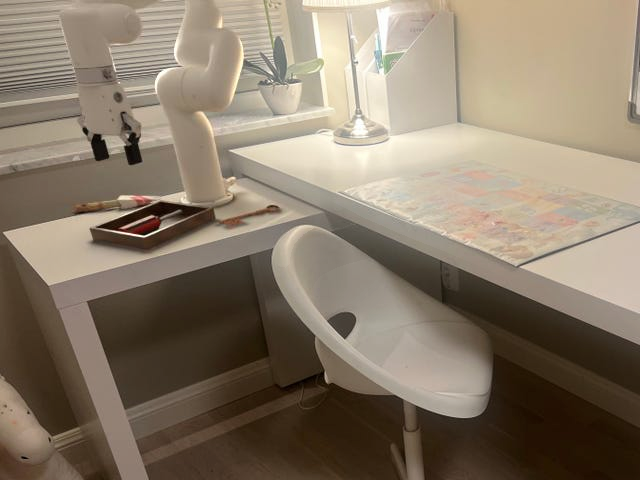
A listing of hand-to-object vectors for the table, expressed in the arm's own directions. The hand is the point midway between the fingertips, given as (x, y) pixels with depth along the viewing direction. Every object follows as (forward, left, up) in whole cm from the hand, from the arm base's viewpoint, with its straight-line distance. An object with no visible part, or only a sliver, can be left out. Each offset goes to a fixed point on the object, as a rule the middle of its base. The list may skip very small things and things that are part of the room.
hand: (119, 161), depth 154 cm
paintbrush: (-14, -21, -17) cm, 30 cm away
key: (-20, +15, -17) cm, 30 cm away
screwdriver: (-4, 0, -17) cm, 17 cm away
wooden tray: (-5, 0, -17) cm, 18 cm away
